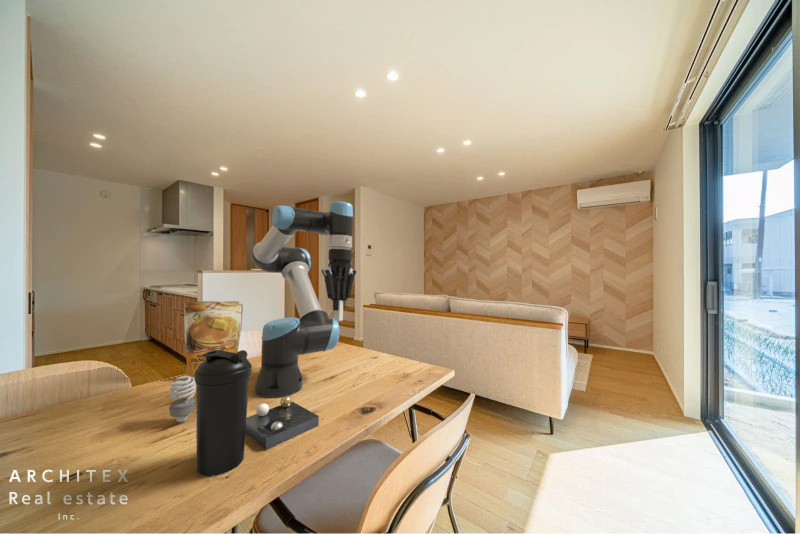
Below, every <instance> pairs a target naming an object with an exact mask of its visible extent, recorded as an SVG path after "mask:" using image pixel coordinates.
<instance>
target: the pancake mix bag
mask: <svg viewBox="0 0 800 534" xmlns="http://www.w3.org/2000/svg"><path fill="white" fill-rule="evenodd" d="M182 305H183V307H182V308H183V309H182V311H183V317H182V318H183V321H184V322H183V329H184V330H183V332H184V334H183V335H184V342H185V361H186V367H185V375H184V376H190V377H194V378H195V371H196V370H197V369H198V367H199V365H200V364H201V363H202V362H204V361H205V359H206V357H202V355H203V354H205V353H207V352H209V351H212V350H223V351H227V352H233V353H237V352H239V347H240V346H239V345H240V340H241V331H242V323H243V322H242V321H243V311H244V307H243V303H240V301H235V300H233V301H215V300H214V301H212V300H211V301H210V300H208V301H188V302H186V303H183V304H182ZM183 380H188V379H183ZM191 381H193V380H191Z"/></svg>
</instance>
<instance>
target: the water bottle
mask: <svg viewBox="0 0 800 534" xmlns="http://www.w3.org/2000/svg"><path fill="white" fill-rule="evenodd" d="M202 357H206V359H205V361H204V362H202V363H201V364H200V365H199V367H198V369H197V370H196V371H195V383H196V404H195V405H196V406H195V410H196V412H195V415H196V416H195V417H196V418H195V419H196V420H195V426H196V428H195V430H196V433H195V434H196V435H195V438H196V453H195V454H196V455H195V456H196V462H195V463H196V464H195V465H196V472H197V473H198V475H201V476H203V477H215V476H219V475H223V474H226V473H228V472H231V471H232V470H233V469H235V468H237V467H238V466H239V465H241V463H242V461H243V460H244V457H245V445H246V444H245V443H246V433H245V431H246V418H247V417H248V415H247V413H248V400H249V399H248V398H249V384H250V383H249V382H250V376H251V374H252V364H251V362H250V361H249V359H248V358H247V357H248V351H247V350H244V349H240V350H238V352H237V353H233V352H227V351H223V350H212V351H209V352H207V353H205V354H203V355H202Z"/></svg>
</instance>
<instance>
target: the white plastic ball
mask: <svg viewBox="0 0 800 534" xmlns="http://www.w3.org/2000/svg"><path fill="white" fill-rule="evenodd" d="M269 409H270V406H269V405H268V404H267V403H260V404H259V405H258V406H257V407H256V414H258V415H259V416H264V415H266V414H267V413H268V411H269Z"/></svg>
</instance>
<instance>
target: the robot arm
mask: <svg viewBox="0 0 800 534" xmlns="http://www.w3.org/2000/svg"><path fill="white" fill-rule="evenodd" d="M329 205H330V206H329V209H328V210H329V211H328V212H326V211H319V210H312V209H306V208H299V207H294V206H289V205H279V204H278V205H276V206H274V208H273V210H272V215H271V223H272V226H270V229H269V230H268V232H267V233H266V234H265V235H264V237H263V238H262V240H261V241H260V242H257V243H256V244H255V245H254V246H253V248H252V249H251V254H250V256H251V260H252V262H253V264H254V265H255V266H256V267H257V268H258V269H260V270H261V271H263V272H266V273H276V274H277V273H280V274H281V276H282V278H283V279H284V280H286V281H287V283H288V285H289V288H290V291H291V295H292V297H293V301H294V303H295V304H294V305H295V307H296V310H297V312H298V315H299V318H298V317H282V318H278V319H277V318H276V319H273V320H271V321H268V322H267V323H264V326H263V327H262V332H261V333H262V334H261V361H260V362H261V364H260V365H261V366H260V370H259V373H258V375H257V378H256V380H255V384H254V394H255V395H256V396H258V397H263V398H279V397H280V398H282V397H284V396H289V395H293V394H295V393H298V392H299V391H301V390H302V388H303V381H304V379H303V376H302V373H301V371H300V370H301V369H300V366H299V356H300V355H307V354H313V353H320V352H326V351H329V350H333V349H335V348H336V346H337V345H338V342H339V339H340V325H339V322H343V321H344V310H345V303H346V302H345V301H347V300H348V299H349V298H350V297H351V293H352V290H353V289H352V288H353V284H354V279H355V275H357V271H356V270H354V269H353V268H352V265H351V262H352V259H353V258H352V256H353V255H352V254H353V253H352V252H353V251H352V250H351V249H352V248H353V228H354V225H353V224H354V223H353V222H354V221H353V220H354V214H353V213H354V212H353V211H354V209H353V208H354V207H353V204H352V203H350V202H347V201H340V200H339V201H332V202H331V203H330V204H329ZM297 232H305V233H306V232H308V233H315V234H316V233H317V234H318V235H321V236H323V235H325V236H327V235H329V237H328V247H329V248H330V249H329V250H328V260H329V263H328V265H327V267H326V268H324V269H321V274H322V275H323V277H324V283H325V288H326V289H325V290H326V294H327V295H326V296H327V299H330V300H331V301H332V311H333V317H332V318H330V317H329V314H328V312H327V310H323V309H322V307H321V305H320V302H319V300H318V297H317V295H316V291H315V290H314V287H313V284H312V282H311V280H310V277H309V272H310V270H311V266H312V261H311V255H310V253H309V251H307V250H306V249H305V248H301V247H298V246H297V247H289V246H285V245H287V244H288V242H289V241H290V240H291V239H292V238H293V237H294V235H295V234H297Z"/></svg>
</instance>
